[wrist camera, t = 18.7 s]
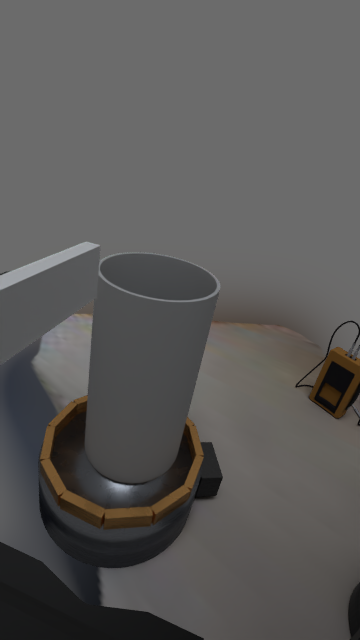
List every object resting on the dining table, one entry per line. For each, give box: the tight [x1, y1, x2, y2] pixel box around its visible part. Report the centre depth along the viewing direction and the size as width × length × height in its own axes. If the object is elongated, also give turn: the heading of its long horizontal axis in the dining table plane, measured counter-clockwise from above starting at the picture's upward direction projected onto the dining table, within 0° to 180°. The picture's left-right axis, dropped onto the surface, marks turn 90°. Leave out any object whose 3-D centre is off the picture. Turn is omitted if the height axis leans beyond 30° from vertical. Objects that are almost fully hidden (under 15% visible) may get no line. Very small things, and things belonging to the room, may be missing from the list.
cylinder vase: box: [85, 252, 220, 484], centre depth 40 cm, size 12×12×25 cm
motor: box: [38, 395, 223, 568], centre depth 46 cm, size 24×21×9 cm
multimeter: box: [296, 321, 360, 425], centre depth 70 cm, size 15×10×20 cm
